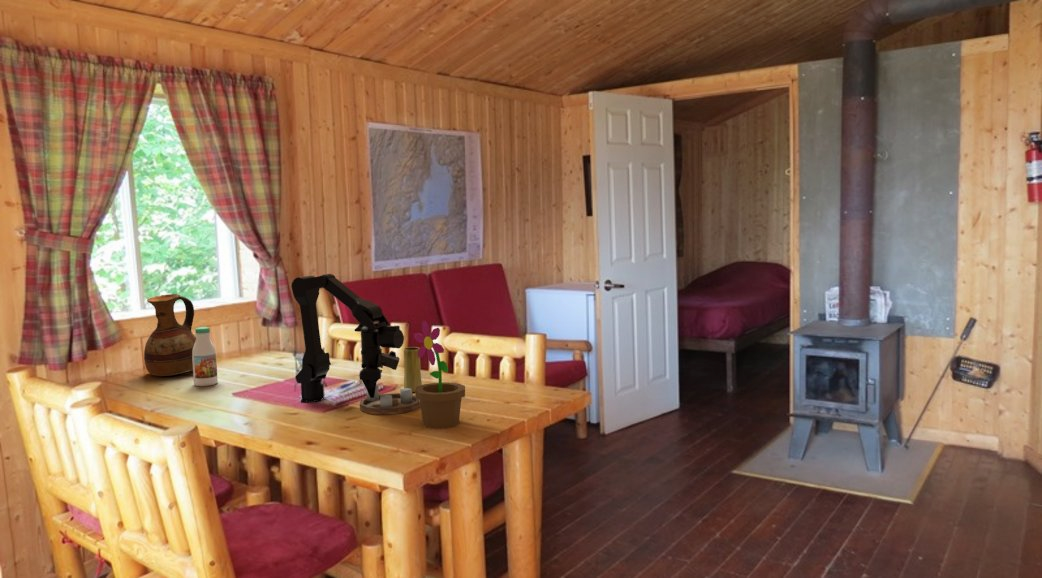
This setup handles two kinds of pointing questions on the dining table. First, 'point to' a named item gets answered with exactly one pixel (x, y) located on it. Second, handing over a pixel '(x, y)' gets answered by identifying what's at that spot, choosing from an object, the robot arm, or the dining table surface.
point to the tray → (398, 408)
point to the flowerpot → (437, 387)
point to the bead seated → (406, 395)
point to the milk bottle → (204, 359)
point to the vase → (412, 368)
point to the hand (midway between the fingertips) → (372, 396)
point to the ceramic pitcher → (170, 338)
